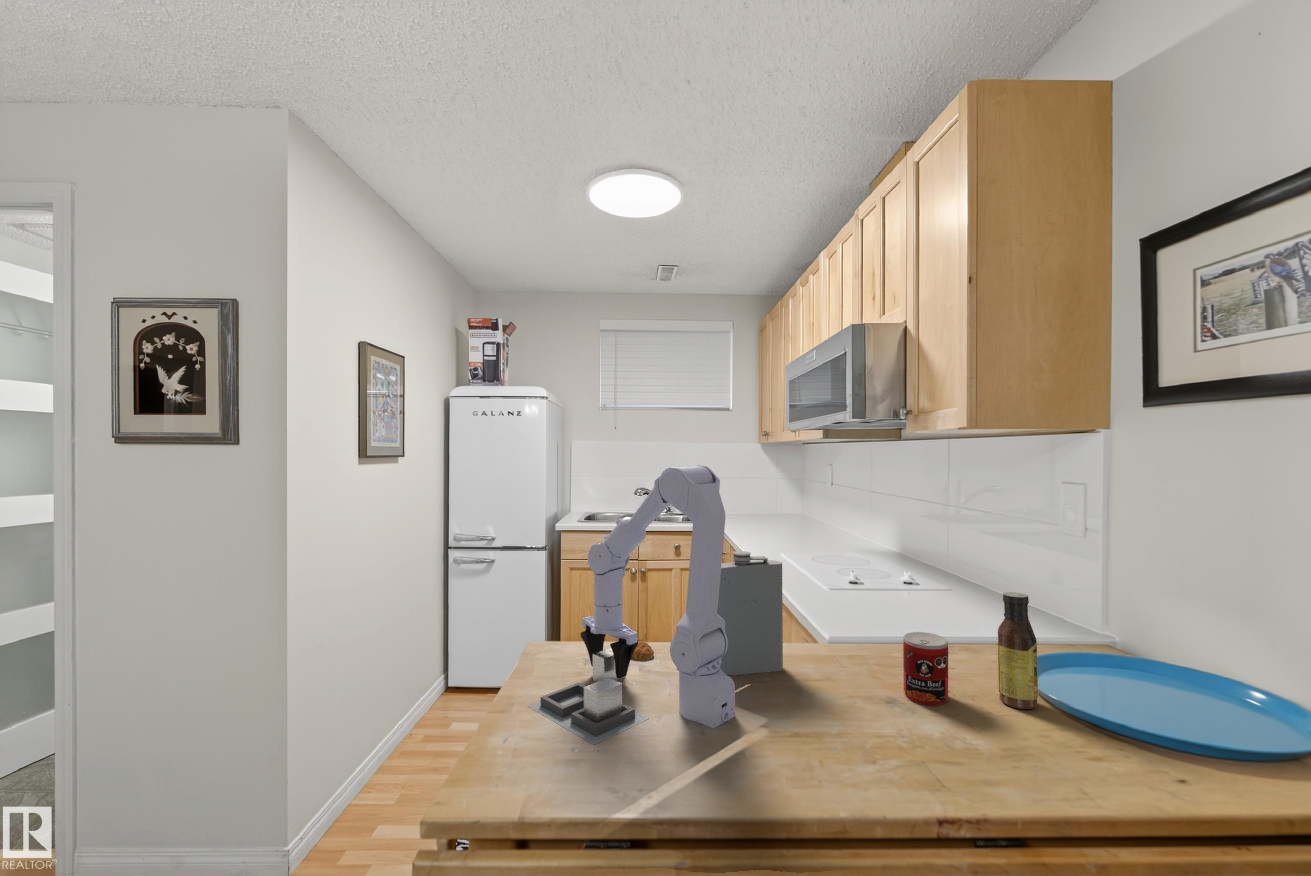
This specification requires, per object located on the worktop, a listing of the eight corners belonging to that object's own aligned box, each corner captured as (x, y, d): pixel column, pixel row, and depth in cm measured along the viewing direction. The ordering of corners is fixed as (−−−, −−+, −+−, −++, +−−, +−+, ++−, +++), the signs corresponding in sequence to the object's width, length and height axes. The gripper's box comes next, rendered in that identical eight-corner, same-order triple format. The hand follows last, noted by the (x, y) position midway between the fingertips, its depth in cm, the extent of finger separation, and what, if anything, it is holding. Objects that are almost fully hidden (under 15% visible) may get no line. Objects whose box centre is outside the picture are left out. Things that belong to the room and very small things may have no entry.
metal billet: (625, 680, 118) (625, 650, 118) (604, 689, 114) (604, 658, 114) (613, 675, 120) (613, 646, 120) (592, 684, 117) (592, 653, 117)
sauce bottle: (1044, 712, 104) (1043, 600, 104) (1005, 709, 106) (1005, 598, 105) (1028, 696, 111) (1028, 590, 111) (992, 693, 112) (992, 589, 112)
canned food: (901, 701, 109) (901, 641, 109) (905, 684, 116) (905, 629, 116) (947, 709, 106) (947, 648, 106) (949, 692, 113) (948, 635, 113)
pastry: (661, 657, 132) (661, 640, 132) (640, 666, 127) (639, 649, 127) (632, 647, 138) (632, 631, 138) (610, 655, 134) (610, 638, 133)
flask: (775, 662, 128) (774, 547, 128) (785, 670, 124) (784, 551, 124) (700, 671, 123) (699, 552, 123) (708, 680, 119) (707, 556, 119)
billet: (622, 718, 101) (622, 683, 101) (597, 729, 97) (597, 693, 97) (608, 711, 103) (608, 677, 103) (584, 722, 99) (583, 687, 99)
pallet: (649, 725, 101) (649, 708, 101) (594, 752, 92) (594, 734, 92) (580, 691, 114) (580, 677, 114) (527, 712, 106) (527, 696, 106)
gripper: (570, 599, 120) (570, 666, 120) (617, 615, 109) (617, 688, 109) (597, 593, 125) (597, 657, 125) (645, 607, 114) (645, 677, 114)
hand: (608, 671), depth 117 cm, fingers open, 7 cm apart
